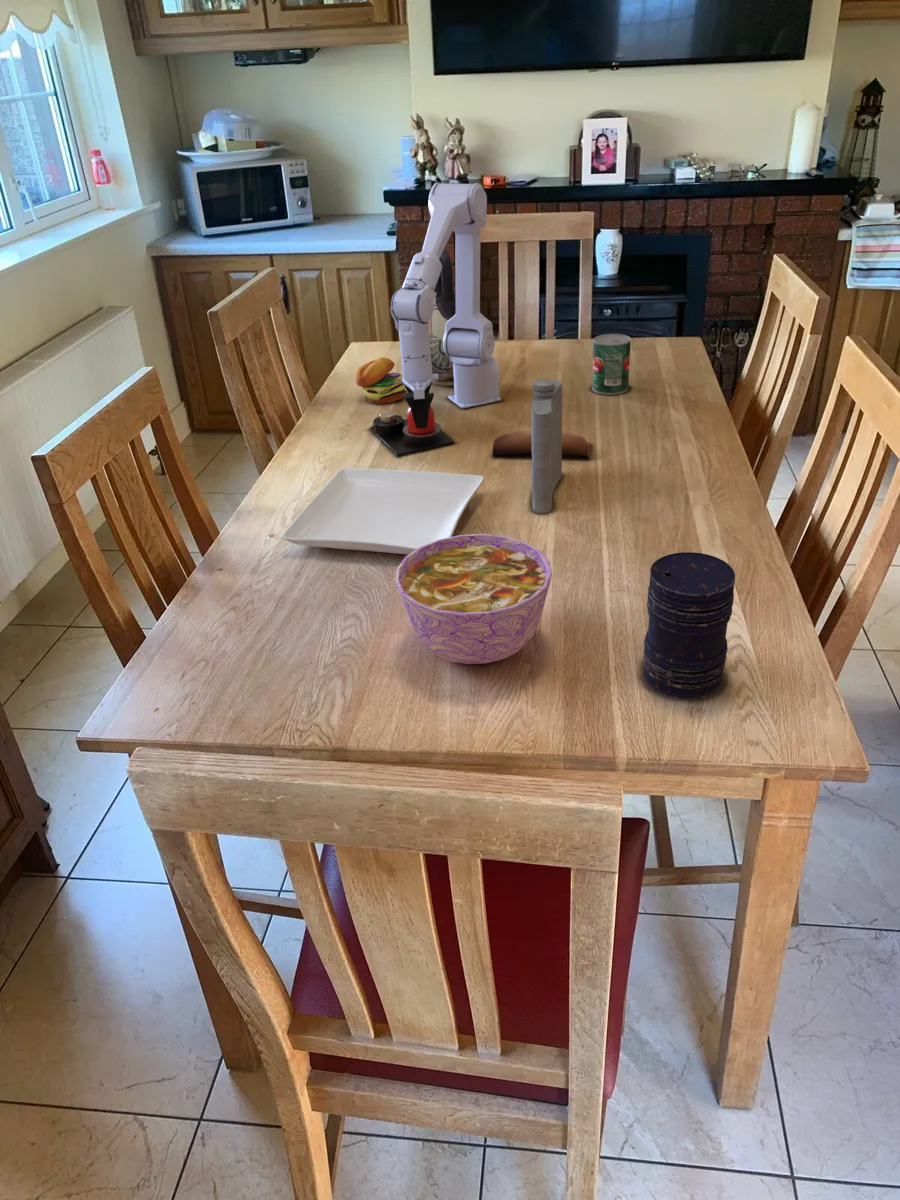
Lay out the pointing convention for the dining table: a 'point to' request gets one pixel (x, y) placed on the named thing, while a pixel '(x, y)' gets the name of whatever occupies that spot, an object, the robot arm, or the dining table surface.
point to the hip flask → (546, 442)
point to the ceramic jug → (442, 322)
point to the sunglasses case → (523, 444)
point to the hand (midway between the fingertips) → (421, 421)
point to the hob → (406, 438)
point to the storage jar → (687, 624)
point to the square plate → (384, 510)
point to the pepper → (413, 428)
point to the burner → (435, 431)
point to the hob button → (387, 417)
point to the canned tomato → (611, 364)
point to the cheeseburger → (380, 381)
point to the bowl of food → (474, 595)
